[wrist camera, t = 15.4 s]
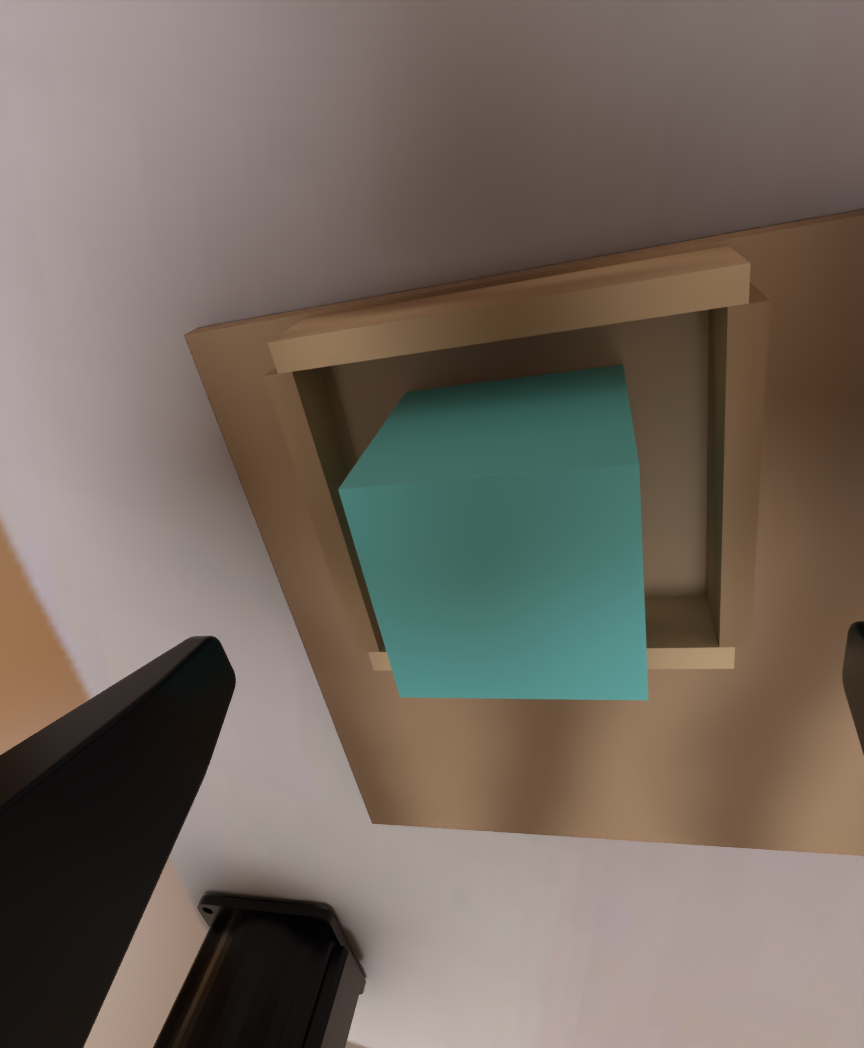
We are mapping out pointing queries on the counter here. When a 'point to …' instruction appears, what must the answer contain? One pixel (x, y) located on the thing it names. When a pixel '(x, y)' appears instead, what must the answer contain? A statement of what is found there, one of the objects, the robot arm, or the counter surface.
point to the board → (667, 534)
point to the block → (507, 539)
